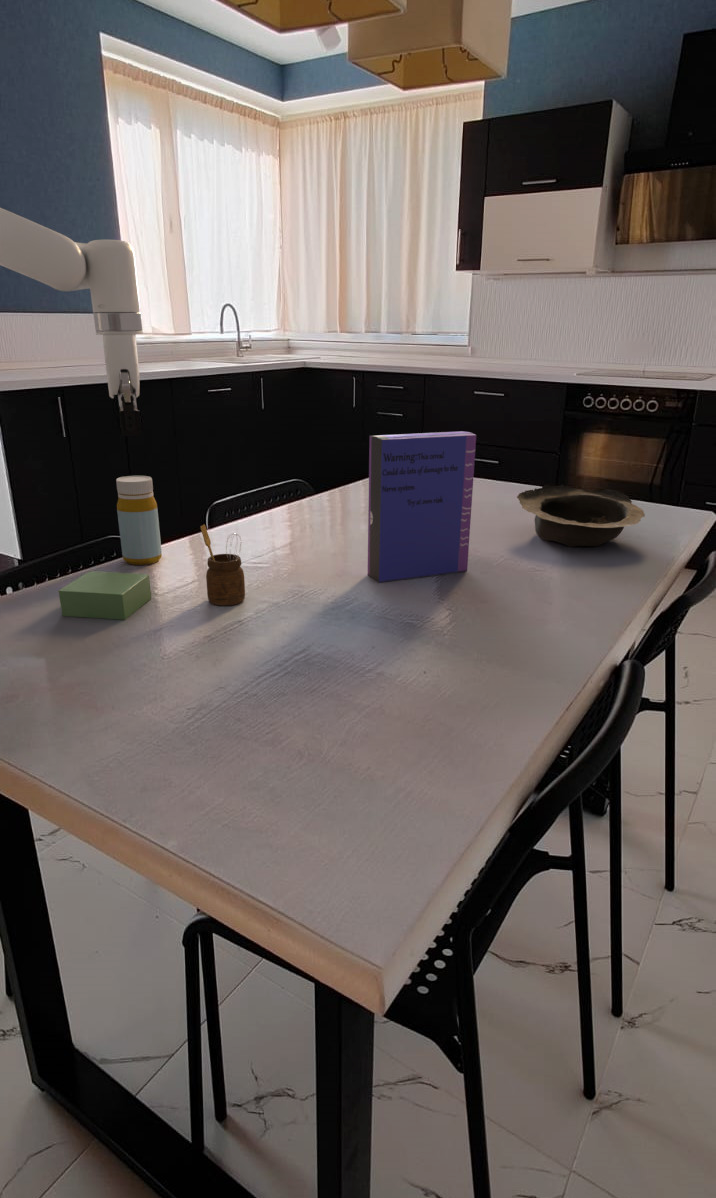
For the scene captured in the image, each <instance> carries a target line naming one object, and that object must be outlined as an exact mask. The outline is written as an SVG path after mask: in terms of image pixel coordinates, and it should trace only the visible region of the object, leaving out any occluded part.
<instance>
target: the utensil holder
mask: <svg viewBox="0 0 716 1198" xmlns="http://www.w3.org/2000/svg"><path fill="white" fill-rule="evenodd" d="M199 528H200V531H201V533H202V534H201V535H202V538H203V542H204V545H205V546H206V547H207V548H208V552H209V555H210V556H209V557H208V558H207V562H206V563H207V564H206V565H207V567H208V568H207V570H206V575H205V578H206V579H205V582H206V594H207V599H208V602H209V603H210V604H212V605H214V606H221V607H227V606H235V605H239V604H241V603H243V602H244V600H245V598H246V584H245V582H246V581H245V573H244V569H243V568H242V559H241V556H240V554H241V549H242V543H238V542H239V540H238V538H236V542H235V543H236V545H238V544H240V545H239V550H238V549H237V547H234V548H235V552H234V553H232V550H229V553H228V552H227V550H228V549H227V548H228V542H230V544H229V545H230V546H232V544H233V542H232V541H233V540H234V537H235V536H239V534H238V533H234V532H233V533H230V534H229V535H228V536H227V540H226V544H225V552H226V553H217V554H213V550H212V547H211V544H212V542H211V539H210V535H209V533H208V530H207V527H206V524H202V525H200V527H199ZM229 538H230V539H231V541H229ZM239 539H240V540H242V539H241V536H239ZM237 551H238V553H237ZM236 553H237V554H236Z"/></svg>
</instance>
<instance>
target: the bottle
mask: <svg viewBox="0 0 716 1198" xmlns="http://www.w3.org/2000/svg"><path fill="white" fill-rule="evenodd" d="M115 483H116V490H117V497H118V498H117V502H116V512H117V521H118V531H119V537H120V546H121V555H122V559H123V561H124V562H125V563H126V564H128V565H133V566H145V565H152V564H155V563H158V562H159V561H161V558H162V556H163V555H162V542H161V532H160V521H159V512H158V503H157V500H156V499H155V497H154V491H153V490H154V485H153V478H152V477H151V476H147V475H127V476H120V477H118V478H116V482H115Z"/></svg>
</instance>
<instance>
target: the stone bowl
mask: <svg viewBox="0 0 716 1198" xmlns="http://www.w3.org/2000/svg"><path fill="white" fill-rule="evenodd" d="M516 498H517V500H518V501H519V504H520V505H521V509H523V510H525V511H526V512H527V513H530V514H533V515H535V516H534V528H535V534H536V535H537V537H539V538H541V539H543V540H544V541H549V542H550V541H551V542H552V541H555V542H557V543H560V544H563V545H565V546H568V547H571V548H575V547H579V546H580V547H599V546H602V545H603V544H604V543H608V542H610V541H612V540H615V539H617V538H618V537H619V536H620V535H621V533H622V532H623V531H624V528H625V527H628V526H632V525H633V526H634V525H637V524H639V523H640V522H641V519H642V518H645V517H646V515H645V511H644V510H643V509H642V508H641V507H639V506H638V505H636V504H634V503H632V502H633V501H632V499H630V497H629V495H627V494H624V493H622V492H621V491H619V490H617V489H609V488H604V489H599V490H590V491H588V490H585V489H579V488H576V487H572V486H569V485H565V486H564V484H563V483H562V484H560V485H550V484H544V485H543V486H542V487H539V488H534V489H528V490H524V491H521V492H519V494H517V496H516Z"/></svg>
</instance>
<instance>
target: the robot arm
mask: <svg viewBox="0 0 716 1198" xmlns="http://www.w3.org/2000/svg"><path fill="white" fill-rule="evenodd" d="M0 266H1V267H4V268H6V269H8V270H11V271H13V272H15V273H19V274H20V275H23V276H25V277H28V278H29V279H33V280H35V281H36V282H37V281H38V282H40V283H42V284H43V285H46V286H49V287H51V288H53V289H54V290H57V291H60V292H73V291H80V290H81V291H82V290H87V289H89V291H90V298H91V299H90V300H91V306H92V307H91V308H92V313H93V314H92V315H93V321H94V329H95V335H98V336H99V335H100V336H102V343H103V357H104V364H105V372H106V380H107V387H108V396H109V398H111V399H114V398H115V396H117V397H118V404H119V405H118V416H119V417H118V418H119V424H120V432H121V433H120V434H121V436H122V437H141V436H142V428H141V427H142V425H141V417H140V410H139V409H138V404H137V398H138V397H140V367H139V366H140V365H139V355H138V354H139V353H138V343H137V335H144V331H143V323H142V322H143V321H142V313H141V303H140V293H139V285H138V276H137V275H138V274H137V266H136V257H135V251H134V248H133V246H132V244H131V243H129V242H128V241H125V240H120V239H93V240H90V241H88V242H87V243H86V242H76V241H74V240H72V238H70V237H68V236H66V235H64V234H62V233H60V232H57V231H56V230H53V229H51V228H49V227H46V226H45V225H44V226H43V225H42V224H39V223H37V222H35V221H33V220H30V219H28V218H26V217H23V216H21V215H18V214H17V213H14V212H12V211H10V210H8V209H4V208H2V207H0Z"/></svg>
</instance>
